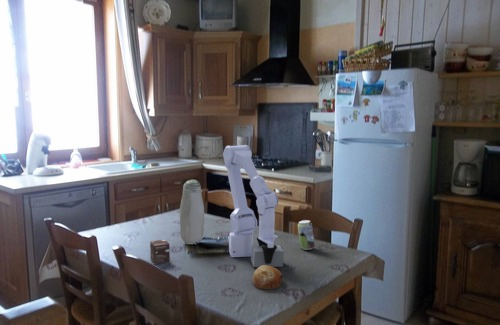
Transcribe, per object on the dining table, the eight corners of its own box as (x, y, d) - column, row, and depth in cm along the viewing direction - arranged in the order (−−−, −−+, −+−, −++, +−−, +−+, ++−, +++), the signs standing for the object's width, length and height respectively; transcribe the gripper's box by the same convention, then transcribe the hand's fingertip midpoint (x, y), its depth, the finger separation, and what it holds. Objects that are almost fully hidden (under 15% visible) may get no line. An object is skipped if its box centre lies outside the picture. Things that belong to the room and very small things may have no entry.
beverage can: (314, 251, 168) (315, 223, 166) (296, 250, 170) (297, 222, 168) (314, 246, 174) (315, 219, 173) (297, 245, 176) (298, 218, 174)
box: (154, 264, 152) (153, 246, 151) (150, 259, 158) (149, 241, 157) (170, 262, 155) (169, 243, 154) (165, 257, 160) (165, 239, 159)
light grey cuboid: (253, 267, 149) (254, 251, 149) (250, 260, 156) (251, 245, 155) (282, 266, 152) (283, 251, 151) (278, 260, 158) (279, 245, 157)
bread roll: (256, 287, 143) (246, 267, 141) (282, 274, 143) (273, 255, 142) (259, 300, 133) (249, 279, 132) (287, 287, 133) (277, 266, 132)
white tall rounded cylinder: (202, 247, 171) (202, 182, 168) (178, 247, 171) (177, 182, 168) (205, 240, 181) (205, 178, 177) (182, 239, 181) (181, 178, 177)
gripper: (282, 230, 145) (281, 266, 147) (272, 219, 159) (272, 252, 161) (262, 231, 144) (262, 267, 146) (255, 219, 158) (254, 253, 160)
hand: (266, 259), depth 153 cm, fingers closed on light grey cuboid, 6 cm apart
